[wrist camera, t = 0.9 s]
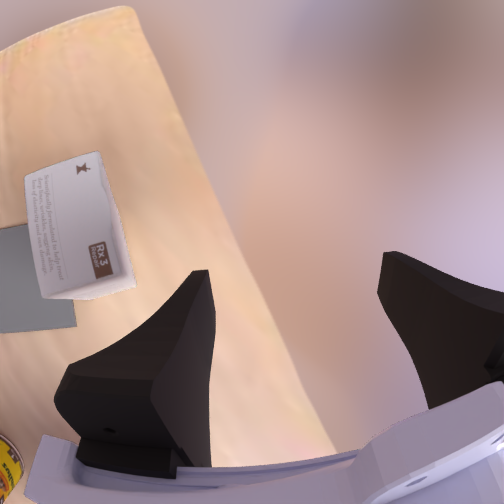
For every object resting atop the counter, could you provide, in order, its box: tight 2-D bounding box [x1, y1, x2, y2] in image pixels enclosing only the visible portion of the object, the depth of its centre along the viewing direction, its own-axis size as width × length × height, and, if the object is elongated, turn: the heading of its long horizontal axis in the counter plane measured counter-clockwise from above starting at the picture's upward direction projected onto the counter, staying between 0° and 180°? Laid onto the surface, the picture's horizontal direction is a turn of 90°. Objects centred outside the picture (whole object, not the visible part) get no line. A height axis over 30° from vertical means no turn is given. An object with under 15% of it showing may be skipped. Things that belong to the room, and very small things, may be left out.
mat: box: [0, 224, 77, 333], centre depth 19 cm, size 9×8×1 cm
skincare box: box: [24, 151, 137, 300], centre depth 16 cm, size 6×4×12 cm
